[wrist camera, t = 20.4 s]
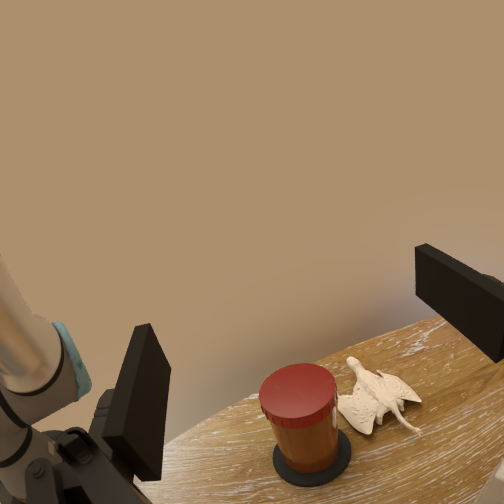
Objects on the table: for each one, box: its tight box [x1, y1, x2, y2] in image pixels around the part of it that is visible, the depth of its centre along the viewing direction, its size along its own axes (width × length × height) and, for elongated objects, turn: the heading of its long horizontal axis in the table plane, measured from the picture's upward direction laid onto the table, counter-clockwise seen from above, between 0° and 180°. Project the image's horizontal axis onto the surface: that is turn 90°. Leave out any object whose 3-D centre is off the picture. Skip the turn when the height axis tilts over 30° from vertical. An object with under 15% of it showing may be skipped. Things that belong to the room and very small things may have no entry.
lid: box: [259, 363, 337, 429], centre depth 29 cm, size 8×8×2 cm
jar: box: [270, 407, 339, 473], centre depth 31 cm, size 7×7×12 cm
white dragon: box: [337, 357, 422, 436], centre depth 36 cm, size 18×10×4 cm, turn 17°
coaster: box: [273, 429, 351, 487], centre depth 33 cm, size 10×10×1 cm
